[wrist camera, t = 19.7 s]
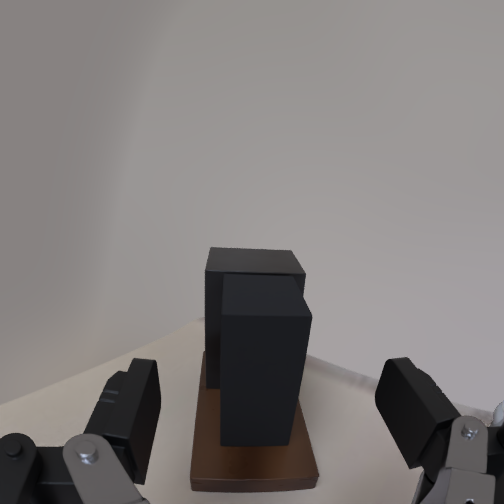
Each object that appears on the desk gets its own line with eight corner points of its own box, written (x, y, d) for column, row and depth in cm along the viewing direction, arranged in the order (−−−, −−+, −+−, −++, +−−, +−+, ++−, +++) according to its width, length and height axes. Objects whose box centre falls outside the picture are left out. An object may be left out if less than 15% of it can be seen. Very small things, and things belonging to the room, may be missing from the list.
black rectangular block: (220, 446, 16) (220, 313, 14) (221, 393, 21) (223, 273, 18) (288, 445, 16) (313, 315, 14) (278, 393, 21) (293, 275, 19)
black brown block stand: (191, 491, 14) (174, 343, 11) (203, 364, 26) (203, 246, 23) (314, 488, 14) (361, 344, 12) (284, 366, 27) (298, 250, 24)
